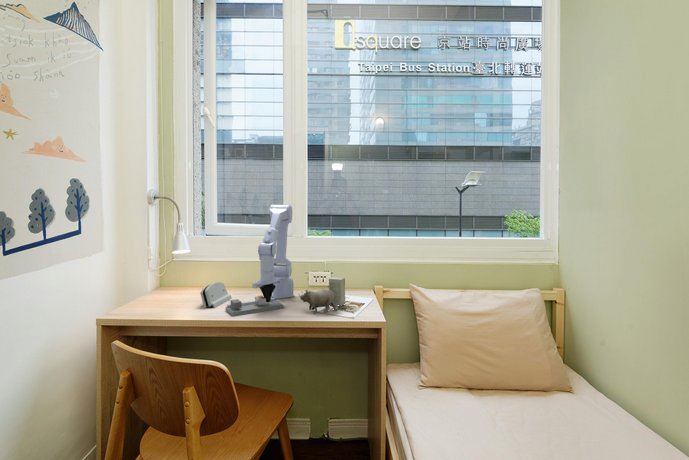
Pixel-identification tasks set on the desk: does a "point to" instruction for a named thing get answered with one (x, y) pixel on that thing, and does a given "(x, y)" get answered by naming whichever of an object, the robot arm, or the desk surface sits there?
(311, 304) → the grey four-legged figurine
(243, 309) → the hole board
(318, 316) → the desk surface
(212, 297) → the grey upright panel
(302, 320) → the desk surface
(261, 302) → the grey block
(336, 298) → the skincare box
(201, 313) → the desk surface
